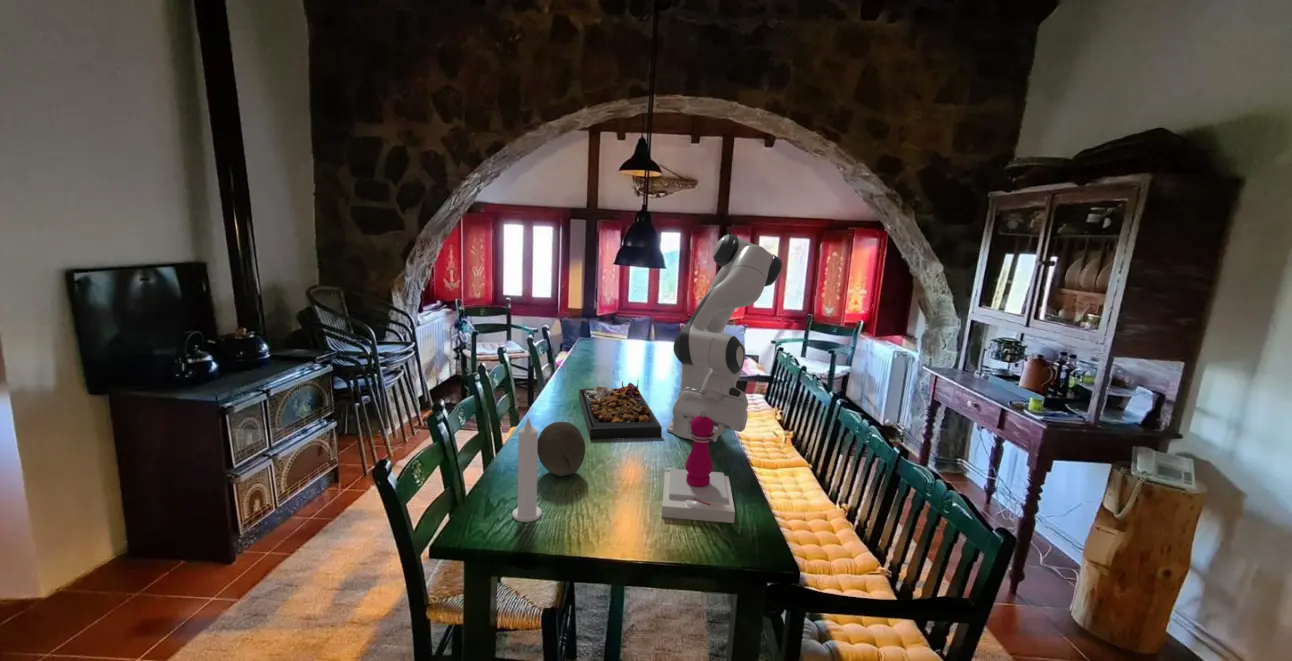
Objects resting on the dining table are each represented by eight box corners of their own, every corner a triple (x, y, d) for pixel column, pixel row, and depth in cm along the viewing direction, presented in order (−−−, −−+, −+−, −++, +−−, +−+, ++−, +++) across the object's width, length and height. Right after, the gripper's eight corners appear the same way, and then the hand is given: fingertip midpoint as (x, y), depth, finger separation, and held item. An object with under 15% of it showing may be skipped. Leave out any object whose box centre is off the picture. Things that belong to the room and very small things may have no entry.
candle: (512, 523, 132) (513, 423, 128) (511, 508, 139) (512, 413, 134) (542, 520, 134) (544, 422, 130) (540, 506, 141) (542, 412, 136)
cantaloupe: (592, 467, 165) (593, 419, 162) (573, 488, 152) (574, 436, 149) (548, 460, 169) (549, 412, 166) (526, 479, 155) (526, 428, 152)
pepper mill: (694, 473, 154) (699, 404, 151) (716, 482, 150) (722, 411, 146) (679, 481, 149) (684, 410, 145) (701, 490, 144) (707, 417, 141)
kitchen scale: (664, 481, 158) (665, 467, 158) (727, 486, 157) (728, 472, 157) (661, 517, 139) (662, 502, 138) (734, 523, 138) (735, 507, 137)
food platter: (578, 399, 230) (579, 375, 228) (637, 398, 235) (638, 375, 233) (589, 441, 187) (590, 411, 185) (661, 439, 192) (662, 410, 190)
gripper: (679, 380, 156) (662, 423, 149) (750, 394, 146) (735, 440, 140) (685, 392, 160) (668, 434, 154) (754, 405, 151) (739, 451, 144)
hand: (700, 437), depth 146 cm, fingers closed on pepper mill, 5 cm apart
